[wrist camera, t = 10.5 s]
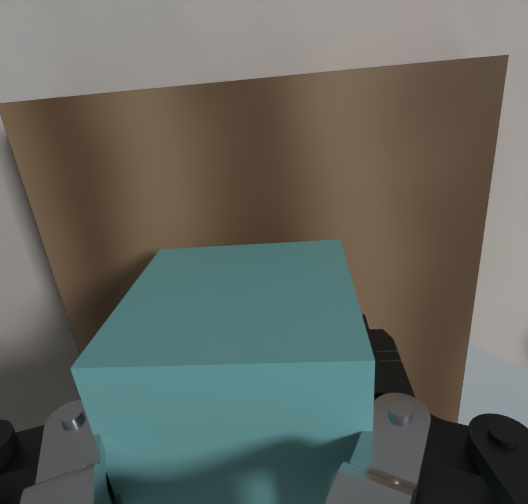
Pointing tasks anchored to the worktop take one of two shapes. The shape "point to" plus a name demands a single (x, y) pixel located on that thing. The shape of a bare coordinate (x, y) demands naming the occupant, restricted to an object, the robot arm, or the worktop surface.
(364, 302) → the walnut stand
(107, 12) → the worktop surface
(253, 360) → the teal cube
